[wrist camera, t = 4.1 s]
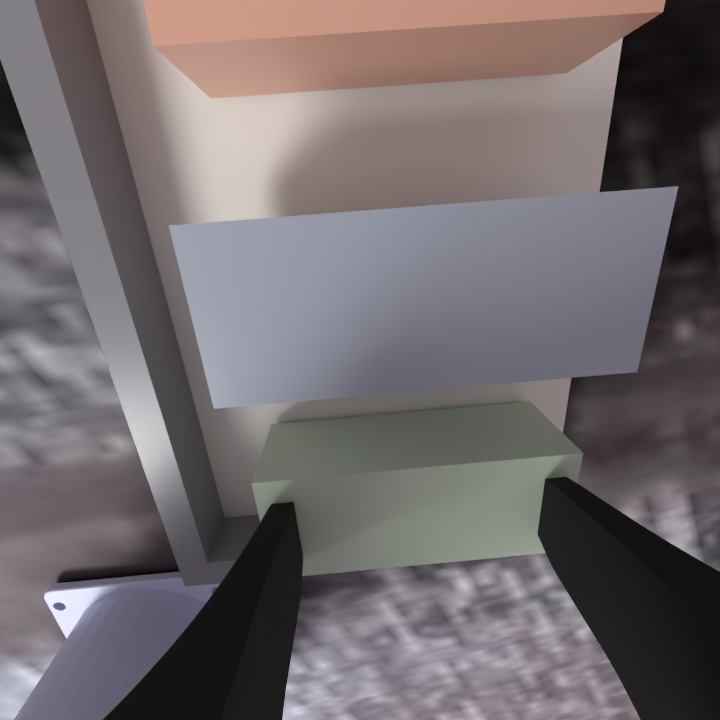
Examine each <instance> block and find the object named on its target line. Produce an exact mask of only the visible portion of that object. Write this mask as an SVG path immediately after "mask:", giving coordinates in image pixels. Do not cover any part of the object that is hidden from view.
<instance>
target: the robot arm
mask: <svg viewBox="0 0 720 720" xmlns="http://www.w3.org/2000/svg"><path fill="white" fill-rule="evenodd" d="M538 537H539V539H540V541H541V543H542V546H543V548H544V550H545V552H546V554H547V556H548V558H549V560H550V563H551V565H552V567H553V569H554V570H555V572H556V574H557V575H558V577H559V579H560V580H561V582H562V584H563V585H564V587H565V589H566V590H567V592H568V593H569V595H570V597H571V598H572V600H573V602H574V603H575V605H576V607H577V608H578V610H579V611H580V613H581V615H582V616H583V618H584V620H585V621H586V623H587V624H588V626H589V628H590V629H591V631H592V633H593V634H594V636H595V637H596V639H597V641H598V642H599V644H600V645H601V647H602V649H603V650H604V652H605V654H606V655H607V657H608V659H609V660H610V662H611V664H612V666H613V667H614V669H615V671H616V673H617V674H618V676H619V678H620V680H621V682H622V684H623V686H624V688H625V690H626V692H627V694H628V696H629V697H630V699H631V701H632V703H633V705H634V707H635V709H636V711H637V713H638V715H639V717H640V719H641V720H720V572H719V571H717V570H715V569H714V568H712V567H710V566H708V565H706V564H705V563H703V562H701V561H699V560H698V559H696V558H694V557H693V556H691V555H689V554H687V553H686V552H684V551H682V550H681V549H679V548H677V547H676V546H674V545H672V544H670V543H669V542H667V541H666V540H664V539H662V538H661V537H659V536H657V535H656V534H654V533H653V532H651V531H649V530H648V529H646V528H645V527H643V526H641V525H640V524H638V523H637V522H635V521H634V520H632V519H630V518H629V517H627V516H626V515H624V514H623V513H621V512H620V511H618V510H617V509H615V508H614V507H612V506H611V505H609V504H608V503H606V502H605V501H603V500H601V499H600V498H598V497H597V496H595V495H594V494H592V493H591V492H589V491H588V490H586V489H585V488H583V487H582V486H580V485H579V484H577V483H576V482H574V481H572V480H571V479H569V478H567V477H558V478H548V479H545V483H544V490H543V497H542V505H541V512H540V519H539V526H538ZM302 571H303V552H302V546H301V541H300V535H299V529H298V524H297V518H296V512H295V506H294V502H286V503H275V504H271V505H270V507H269V508H268V510H267V511H266V513H265V515H264V517H263V518H262V520H261V522H260V523H259V525H258V527H257V528H256V530H255V532H254V533H253V535H252V537H251V538H250V540H249V541H248V543H247V545H246V546H245V548H244V549H243V551H242V552H241V554H240V555H239V557H238V558H237V560H236V561H235V563H234V564H233V566H232V567H231V569H230V570H229V572H228V573H227V575H226V576H225V578H224V579H223V580H222V582H221V583H218V584H208V585H197V586H187V587H185V585H184V582H183V580H182V577H181V574H180V572H170V573H160V574H149V575H139V576H128V577H118V578H107V579H97V580H86V581H76V582H65V583H57V584H53V585H51V586H50V587H49V588H48V590H47V591H46V592H45V594H44V598H45V601H46V603H47V604H48V606H49V608H50V610H51V612H52V613H53V615H54V617H55V619H56V620H57V622H58V624H59V626H60V628H61V629H62V631H63V633H64V635H65V637H66V638H67V639H66V641H65V642H64V644H63V645H62V647H61V648H60V650H59V651H58V653H57V655H56V656H55V658H54V659H53V661H52V662H51V664H50V665H49V667H48V668H47V670H46V671H45V673H44V675H43V676H42V678H41V679H40V681H39V682H38V684H37V685H36V687H35V688H34V690H33V691H32V693H31V695H30V696H29V698H28V699H27V701H26V702H25V704H24V705H23V707H22V708H21V710H20V711H19V713H18V715H17V716H16V718H15V719H14V720H282V715H283V706H284V698H285V690H286V684H287V678H288V671H289V665H290V659H291V653H292V647H293V640H294V634H295V628H296V622H297V616H298V609H299V603H300V596H301V587H302Z"/></svg>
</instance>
